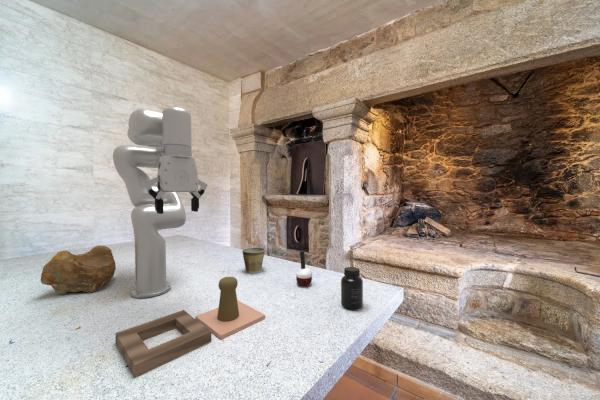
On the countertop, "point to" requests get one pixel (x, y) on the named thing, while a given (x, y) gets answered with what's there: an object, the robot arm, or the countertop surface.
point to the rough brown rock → (79, 270)
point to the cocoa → (303, 273)
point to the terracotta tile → (226, 329)
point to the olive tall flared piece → (228, 300)
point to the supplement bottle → (352, 289)
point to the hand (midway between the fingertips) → (178, 212)
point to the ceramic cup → (253, 259)
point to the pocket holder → (149, 359)
